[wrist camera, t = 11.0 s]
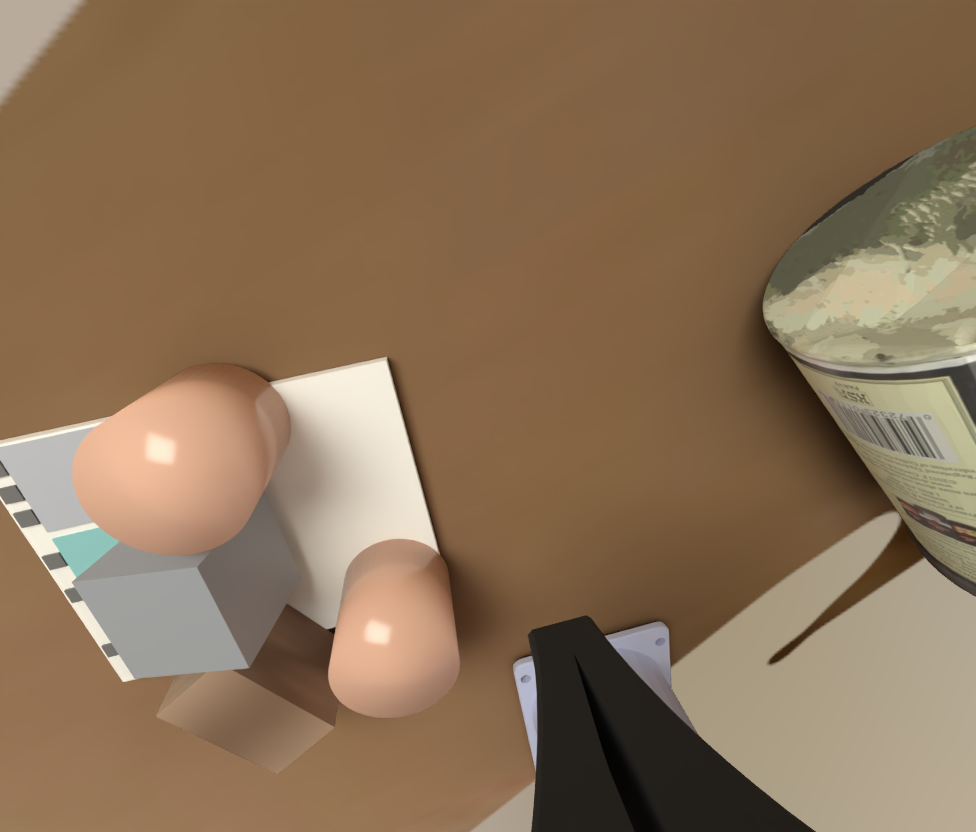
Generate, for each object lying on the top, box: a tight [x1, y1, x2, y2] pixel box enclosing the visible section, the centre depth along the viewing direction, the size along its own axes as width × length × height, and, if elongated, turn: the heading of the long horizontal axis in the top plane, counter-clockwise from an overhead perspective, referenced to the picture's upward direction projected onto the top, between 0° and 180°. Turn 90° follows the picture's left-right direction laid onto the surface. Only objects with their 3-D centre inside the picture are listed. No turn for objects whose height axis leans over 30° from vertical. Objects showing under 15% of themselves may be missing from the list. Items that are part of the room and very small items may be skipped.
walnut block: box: [156, 604, 338, 774], centre depth 19 cm, size 5×3×4 cm, turn 40°
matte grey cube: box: [72, 491, 301, 679], centre depth 16 cm, size 4×4×4 cm
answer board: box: [0, 357, 440, 682], centre depth 19 cm, size 11×14×1 cm
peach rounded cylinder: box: [328, 539, 460, 718], centre depth 19 cm, size 4×4×4 cm
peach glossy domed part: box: [72, 363, 291, 556], centre depth 15 cm, size 4×4×4 cm
